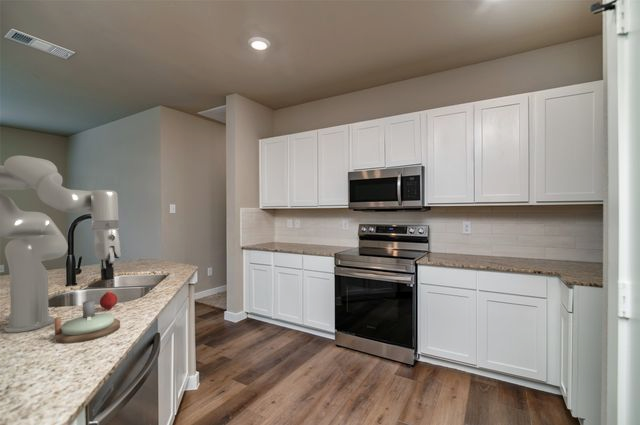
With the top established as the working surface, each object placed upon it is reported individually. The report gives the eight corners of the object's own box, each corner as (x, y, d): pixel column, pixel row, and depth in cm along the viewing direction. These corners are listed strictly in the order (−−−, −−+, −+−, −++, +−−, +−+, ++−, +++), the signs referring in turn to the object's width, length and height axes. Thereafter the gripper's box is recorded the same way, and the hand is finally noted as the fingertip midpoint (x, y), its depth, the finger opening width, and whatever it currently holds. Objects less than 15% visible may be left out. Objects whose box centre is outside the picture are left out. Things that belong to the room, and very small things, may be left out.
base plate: (39, 342, 91) (39, 321, 91) (89, 321, 108) (88, 303, 108) (89, 344, 89) (89, 322, 89) (132, 323, 106) (131, 304, 106)
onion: (108, 312, 117) (107, 292, 117) (96, 312, 118) (95, 292, 118) (120, 308, 123) (120, 288, 123) (109, 307, 124) (108, 288, 124)
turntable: (115, 327, 97) (115, 306, 97) (60, 339, 89) (60, 315, 89) (112, 316, 108) (112, 297, 108) (63, 325, 100) (63, 304, 100)
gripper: (126, 225, 101) (128, 279, 101) (110, 225, 110) (112, 275, 110) (100, 226, 95) (102, 284, 95) (85, 226, 104) (87, 279, 104)
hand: (107, 279), depth 102 cm, fingers closed
